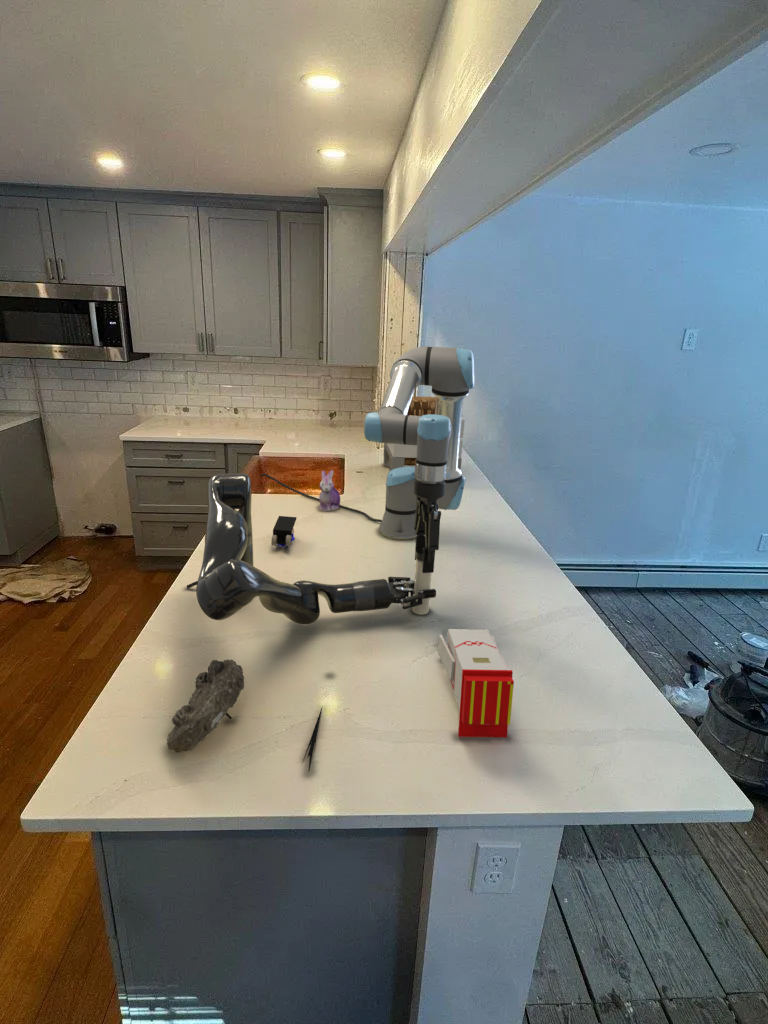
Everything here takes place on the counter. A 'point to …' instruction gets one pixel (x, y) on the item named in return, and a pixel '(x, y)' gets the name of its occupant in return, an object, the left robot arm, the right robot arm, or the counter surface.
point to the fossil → (206, 705)
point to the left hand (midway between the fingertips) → (431, 588)
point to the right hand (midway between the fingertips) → (423, 565)
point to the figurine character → (283, 531)
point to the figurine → (328, 493)
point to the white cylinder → (421, 587)
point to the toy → (478, 682)
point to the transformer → (407, 453)
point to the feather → (313, 740)
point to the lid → (419, 554)
